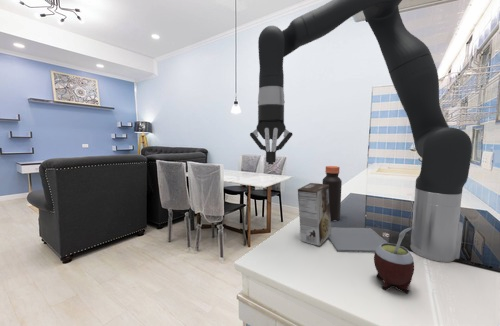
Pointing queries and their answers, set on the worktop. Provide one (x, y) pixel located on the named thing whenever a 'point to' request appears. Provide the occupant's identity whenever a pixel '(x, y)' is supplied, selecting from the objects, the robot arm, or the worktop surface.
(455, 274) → the worktop surface
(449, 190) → the robot arm
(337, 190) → the bottle
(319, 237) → the coffee box
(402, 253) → the mate gourd
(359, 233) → the mat
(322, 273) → the worktop surface
